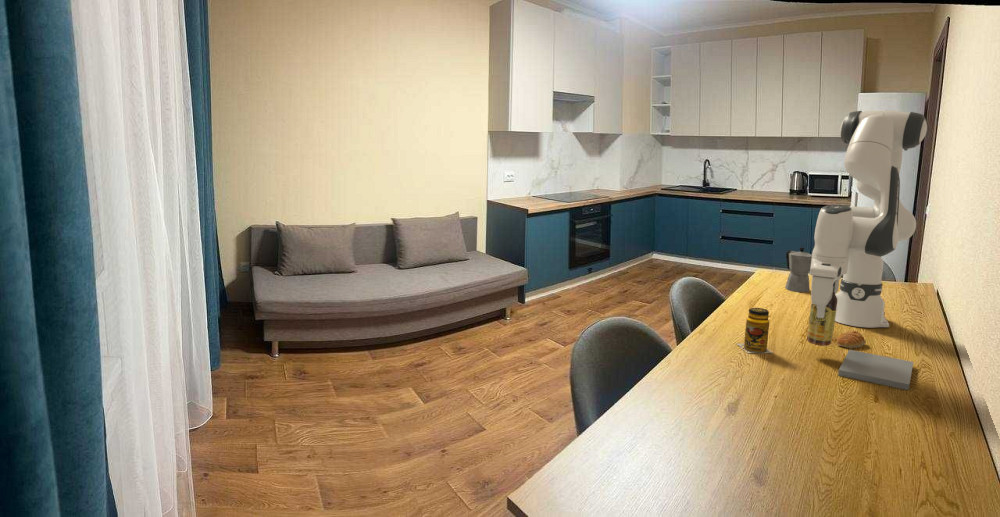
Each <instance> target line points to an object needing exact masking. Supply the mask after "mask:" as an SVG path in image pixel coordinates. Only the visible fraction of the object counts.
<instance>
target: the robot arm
mask: <svg viewBox="0 0 1000 517" xmlns="http://www.w3.org/2000/svg"><path fill="white" fill-rule="evenodd" d="M927 131H928V124H927V119H926V117H925V116H924V114H922V113H919V112H914V111H910V112H908V111H901V110H900V111H899V110H889V109H888V110H887V109H885V110H872V111H871V110H866V111H862V110H856V111H852V112H849V113H848V114H846V115H845V116H844V119H843V120H842V122H841V124H840V127H839V135H840V139H841V141H842V142H843V143H844V144H845V145H848V146H847V149H846V151H845V155H844V156H845V157H844V163H843V164H844V168H845V170H846V172H847V173H848V175H850V176H851V177H852V179H854V180H856V188H857V191H858V192H859V193H860V194H862V196H865V197H867V198H869V199H871V200H873V202H874V203H873V206H870V207H868V206H852V205H850V206H848V205H846V204H845V205H844V204H829V205H825V206H823V207H821V208H820V210H819V213H818V215H817V219H816V224H815V230H814V237H813V239H814V246H813V249H812V251H811V252H812V253H811V254H812V259H811V268H810V271H809V275H810V276H812V277H811V290H810V292H811V293H810V300H811V304H815V305H817V317H818V318H824V317H825V309H826V305H827V304H828V303H829V302H830V300H831V299H832V294H833V287H834V286H833V283H834V282H835V281H836V282H835V290H834V292H835V295H836V297H837V307H836V309H837V310H836V317H835V322H836V323H839V324H843V325H846V326H852V327H858V328H869V329H870V328H871V329H872V328H873V329H874V328H890V323H889V322H888V320H887V318H886V317H885V315H886V314H885V313H886V312H885V303H886V302H885V301H884V300H883V298H882V296H881V295H882V291H883V283H882V277H883V271H884V264H885V263H884V259H883V258H882V257H884V256H886V255H888V254H891V253H892V252H893V251H895V250H896V248H897V246H898V242H903V241H908V239H910V238H911V237H912V236H913V235H914V233H915V231H916V228H917V220H916V218H915V216H914V214H913V213H912V212H911V210H910V211H909V210H908V209H907V208H906V207H905V206H904V205H903V203H902V202H901V200H900V193H901V192H900V189H901V184H900V183H901V182H900V181H901V180H900V179H901V178H900V172H901V167H902V161H903V152H904V151H905V152H906V151H908V150H910V149H914V148H916V147H917V146H919V145H920V144H921V142H922V141H923V140H924V138H925V136H926V135H927ZM839 285H840V286H839Z"/></svg>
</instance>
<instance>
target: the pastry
mask: <svg viewBox="0 0 1000 517" xmlns="http://www.w3.org/2000/svg"><path fill="white" fill-rule="evenodd" d="M836 339H837V340H836V341H837V342H836V343H837V346H838V347H843V348H848V349H850V350H853V349H859V348H861V347H863V346H864V345H865V344H866V340H865V338H864V336H863V334H862V333H861V332H859V331H856V330H851V331H850V330H848V331H846V332H843V333H841V334H840V335H839V336H838V337H837V338H836Z"/></svg>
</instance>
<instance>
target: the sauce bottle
mask: <svg viewBox="0 0 1000 517" xmlns="http://www.w3.org/2000/svg"><path fill="white" fill-rule="evenodd" d="M835 282H836V281H835ZM835 282H834V283H833V286H834V287H833V294H832V299H831V300H830V302H829V303H828V304H827V305H826V309H825V317H824V318H818V317H817V305H815V304H812V303H811V306H810V311H809V317H808V318H809V319H808V326H807V332H806V340H807V342H808V343H809V344H811V345H815V346H818V347H819V346H820V347H821V346H825V347H826V346H830V345H831V343H832V340H833V334H834V328H835V322H836V321H835V317H836V310H837V309H836V307H837V297H836V295H835V292H834V290H835Z"/></svg>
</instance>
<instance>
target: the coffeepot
mask: <svg viewBox="0 0 1000 517" xmlns="http://www.w3.org/2000/svg"><path fill="white" fill-rule="evenodd" d="M804 250H805V248H804V247H802V246H801V247H799V251H796V250H790V249H789V250H788V251H786V253H785V258H786V268H787V269H788V270H790V273H788V277H787V281H786V283H785V287H784V288H785V289H786V290H787V291H790V292H794V293H809V292H811V290H810V276H809V272H810V268H811V259H812V253H808V252H805V251H804Z"/></svg>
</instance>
